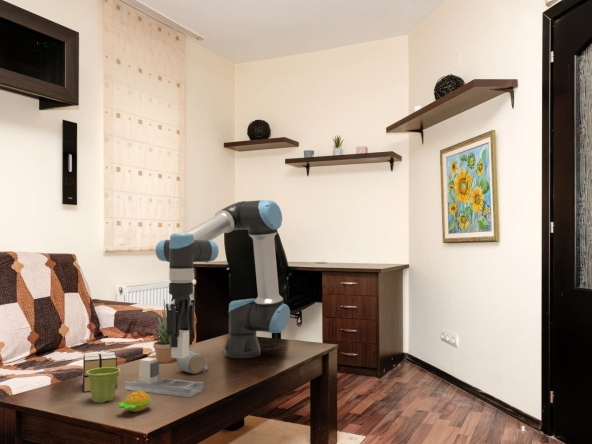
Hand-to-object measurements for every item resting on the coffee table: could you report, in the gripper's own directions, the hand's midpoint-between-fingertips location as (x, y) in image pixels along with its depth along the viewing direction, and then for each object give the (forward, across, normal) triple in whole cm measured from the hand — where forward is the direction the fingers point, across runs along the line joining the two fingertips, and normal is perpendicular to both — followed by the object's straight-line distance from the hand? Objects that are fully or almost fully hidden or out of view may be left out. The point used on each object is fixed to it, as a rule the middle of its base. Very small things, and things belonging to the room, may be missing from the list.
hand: (180, 355), depth 160 cm
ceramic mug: (+12, -24, -9) cm, 28 cm away
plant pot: (+12, +15, -17) cm, 25 cm away
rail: (+11, 0, -6) cm, 13 cm away
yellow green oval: (+12, +21, -1) cm, 24 cm away
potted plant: (+11, -34, -29) cm, 46 cm away
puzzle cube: (+12, +4, -28) cm, 31 cm away
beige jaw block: (0, 0, 0) cm, 0 cm away
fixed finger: (+10, 0, -12) cm, 15 cm away
